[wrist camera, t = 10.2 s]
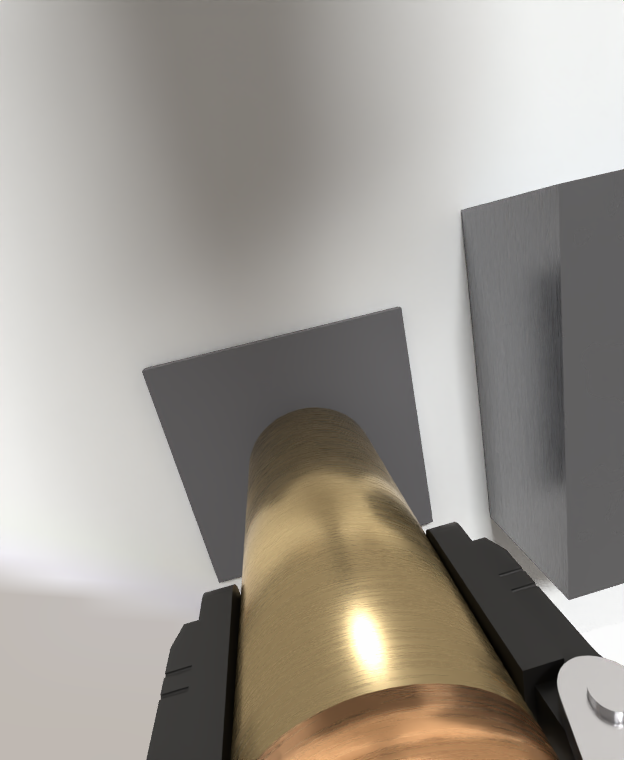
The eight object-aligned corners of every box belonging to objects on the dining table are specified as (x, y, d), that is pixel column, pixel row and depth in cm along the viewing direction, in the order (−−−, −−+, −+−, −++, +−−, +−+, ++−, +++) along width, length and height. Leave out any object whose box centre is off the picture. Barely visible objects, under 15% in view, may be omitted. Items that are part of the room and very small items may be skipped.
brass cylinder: (233, 425, 14) (160, 865, 4) (361, 393, 15) (609, 729, 4) (266, 532, 16) (275, 1057, 5) (382, 502, 16) (603, 949, 6)
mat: (144, 368, 15) (141, 371, 15) (397, 306, 16) (401, 307, 15) (219, 576, 18) (219, 582, 18) (429, 516, 19) (433, 521, 18)
